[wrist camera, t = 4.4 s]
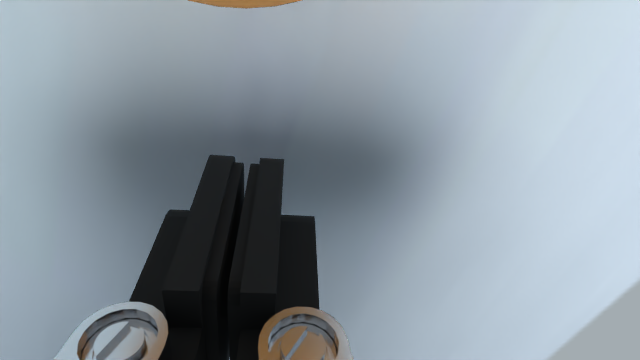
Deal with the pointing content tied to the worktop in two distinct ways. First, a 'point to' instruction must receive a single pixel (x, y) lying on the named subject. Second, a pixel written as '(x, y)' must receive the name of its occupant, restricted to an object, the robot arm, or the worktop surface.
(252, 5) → the ball
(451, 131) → the worktop surface
